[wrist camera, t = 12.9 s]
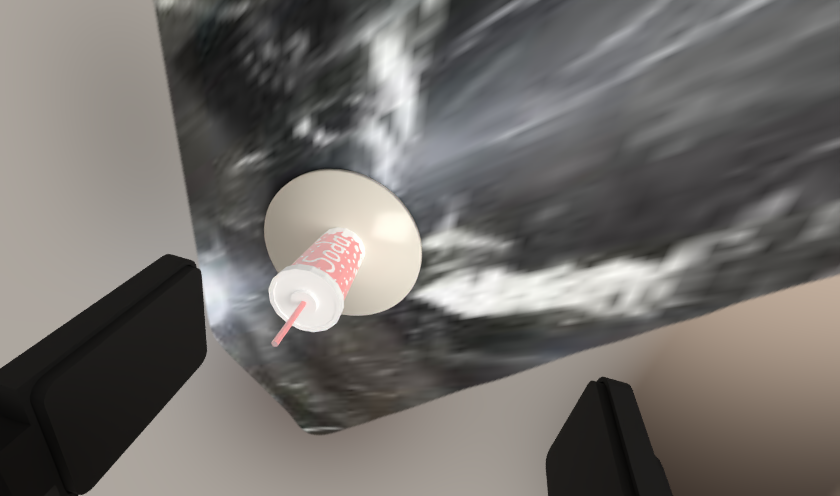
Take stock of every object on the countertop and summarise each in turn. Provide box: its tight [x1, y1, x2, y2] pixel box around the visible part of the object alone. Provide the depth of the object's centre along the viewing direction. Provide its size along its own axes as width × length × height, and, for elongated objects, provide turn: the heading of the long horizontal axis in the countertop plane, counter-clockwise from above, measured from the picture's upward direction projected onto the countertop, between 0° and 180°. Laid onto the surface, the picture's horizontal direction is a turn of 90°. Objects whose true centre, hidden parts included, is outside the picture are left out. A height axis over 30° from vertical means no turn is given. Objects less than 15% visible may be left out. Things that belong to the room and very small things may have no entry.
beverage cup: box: [269, 227, 365, 347], centre depth 35 cm, size 6×6×14 cm
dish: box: [264, 169, 422, 316], centre depth 42 cm, size 16×16×1 cm
